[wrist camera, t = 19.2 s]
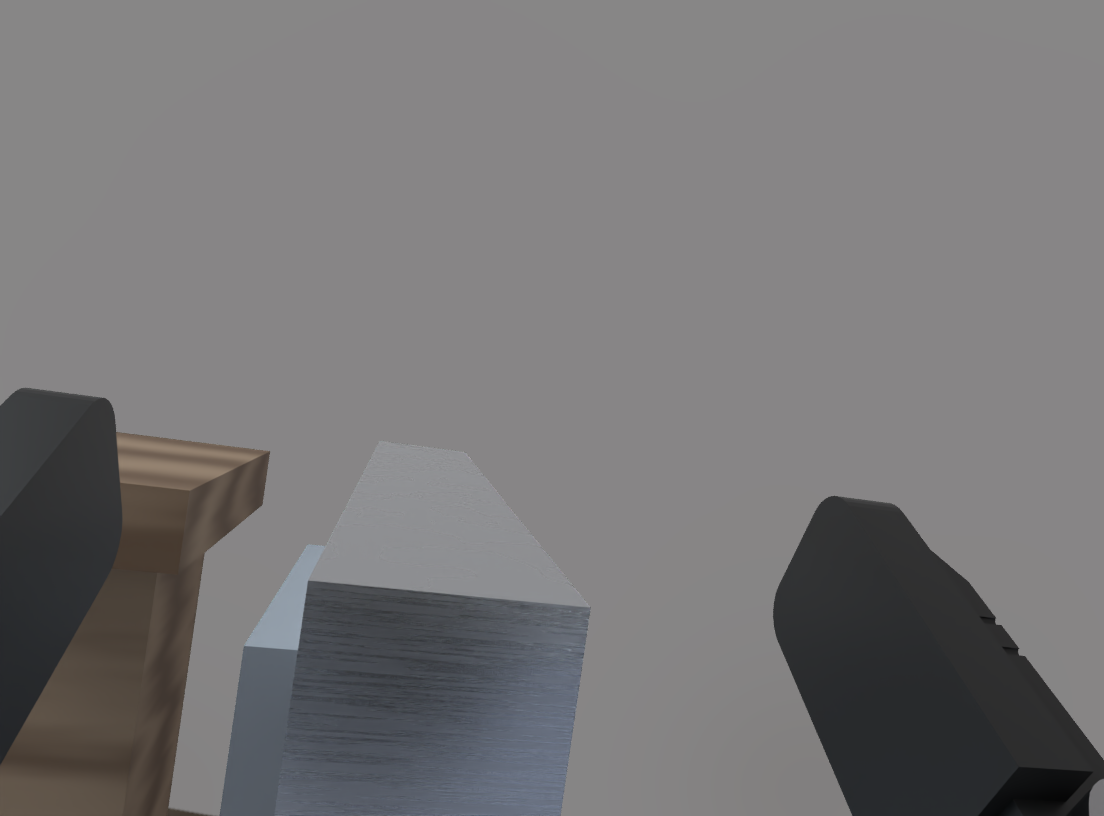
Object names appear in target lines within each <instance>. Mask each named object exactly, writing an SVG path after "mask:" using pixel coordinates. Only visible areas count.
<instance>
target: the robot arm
mask: <svg viewBox="0 0 1104 816" xmlns="http://www.w3.org/2000/svg"><path fill="white" fill-rule="evenodd" d="M122 519H123V518H122V502H121V489H120V476H119V463H118V450H117V437H116V424H115V415H114V411H113V408H112V405H111V403H110V402H109V401H108V400H107V399H105V398H100V397H92V396H84V395H77V394H69V393H61V392H53V391H46V390H39V389H31V388H21V389H19V390H17V391H15V392H14V393H13V394H12V395H11V396H10V397H9V398H8V399H7V400H6V401H5V402H4V403H3V404H2V405H1V406H0V765H1V763H2V761H3V759H4V758H5V756H6V754H7V752H8V751H9V749H10V747H11V745H12V744H13V742H14V740H15V738H16V737H17V735H18V733H19V731H20V730H21V728H22V726H23V724H24V723H25V721H26V719H27V717H28V716H29V714H30V712H31V710H32V709H33V707H34V705H35V703H36V702H37V700H38V698H39V696H40V695H41V693H42V691H43V689H44V688H45V686H46V684H47V682H48V681H49V679H50V677H51V675H52V674H53V672H54V670H55V668H56V667H57V665H58V663H59V661H60V660H61V658H62V656H63V654H64V653H65V651H66V649H67V647H68V646H69V644H70V642H71V640H72V638H73V637H74V635H75V633H76V631H77V630H78V628H79V626H80V624H81V623H82V621H83V619H84V617H85V616H86V614H87V612H88V610H89V609H90V607H91V605H92V603H93V602H94V600H95V598H96V596H97V595H98V593H99V591H100V589H101V588H102V586H103V584H104V582H105V581H106V579H107V577H108V575H109V573H110V571H111V569H112V566H113V564H114V561H115V558H116V555H117V552H118V548H119V544H120V538H121V532H122ZM773 610H774V611H773V619H774V628H775V633H776V637H777V640H778V642H779V644H780V647H781V649H782V652H783V654H784V656H785V659H786V661H787V663H788V666H789V668H790V670H791V673H792V675H793V677H794V680H795V682H796V684H797V687H798V689H799V692H800V694H801V696H802V699H803V701H804V703H805V706H806V708H807V710H808V713H809V715H810V717H811V720H812V722H813V724H814V727H815V729H816V731H817V733H818V736H819V738H820V741H821V743H822V745H823V748H824V750H825V752H826V755H827V757H828V759H829V762H830V764H831V766H832V769H833V771H834V774H835V776H836V778H837V780H838V783H839V785H840V788H841V790H842V792H843V795H844V797H845V799H846V802H847V804H848V806H849V809H850V811H851V813H852V816H1104V760H1103V758H1102V757H1101V756H1100V755H1099V753H1098V752H1097V750H1096V749H1095V748H1094V747H1093V745H1092V744H1091V743H1090V741H1089V740H1088V739H1087V737H1086V736H1085V735H1084V733H1083V732H1082V731H1081V729H1080V728H1079V727H1078V725H1077V724H1076V723H1075V721H1073V719H1072V718H1071V716H1070V715H1069V714H1068V712H1067V711H1066V710H1065V708H1064V707H1063V706H1062V705H1061V703H1060V702H1059V700H1058V699H1057V698H1056V697H1055V695H1054V694H1053V693H1052V691H1051V690H1050V689H1049V687H1048V686H1047V685H1046V683H1045V682H1044V681H1043V679H1042V678H1041V677H1040V675H1039V674H1038V673H1037V671H1036V670H1035V669H1034V668H1033V666H1032V665H1031V664H1030V662H1029V661H1028V660H1027V658H1026V657H1025V656H1019V654H1018V649H1019V648H1018V646H1017V645H1016V644H1015V642H1014V641H1013V640H1012V639H1011V637H1010V636H1009V635H1008V633H1007V632H1006V631H1005V629H1004V628H1003V627H1002V625H996V624H995V618H996V617H995V616H994V615H993V614H992V612H991V611H990V610H989V609H988V607H987V606H986V604H985V603H984V602H983V600H982V599H981V598H980V596H979V595H978V594H977V593H976V591H975V590H974V588H973V587H972V586H971V585H970V583H969V582H968V581H967V580H966V579H964V578H963V577H962V576H961V575H960V574H958V573H957V572H956V571H955V570H954V569H953V568H951V567H950V566H949V565H948V564H947V563H945V562H944V561H943V560H942V559H940V558H939V557H938V556H937V555H936V554H935V553H934V552H932V551H931V550H930V549H929V547H928V546H927V545H926V543H925V542H924V541H923V539H922V538H921V537H920V535H919V534H918V532H917V531H916V530H915V528H914V527H913V526H912V524H911V523H910V522H909V520H908V519H907V517H906V516H905V515H904V513H903V512H902V511H901V510H900V509H899V508H898V507H897V506H895V505H893V504H890V503H883V502H876V501H868V500H861V499H852V498H845V497H838V496H831V497H828V498H826V499H825V500H824V501H823V502H821V504H820V505H819V506H818V508H817V510H816V511H815V513H814V515H813V517H812V519H811V521H810V523H809V526H808V527H807V529H806V531H805V533H804V535H803V538H802V540H801V542H800V544H799V546H798V548H797V550H796V552H795V554H794V556H793V558H792V560H791V562H790V564H789V566H788V568H787V570H786V572H785V575H784V576H783V578H782V580H781V582H780V584H779V587H778V589H777V592H776V596H775V601H774V609H773Z"/></svg>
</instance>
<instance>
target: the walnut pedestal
mask: <svg viewBox="0 0 1104 816" xmlns="http://www.w3.org/2000/svg"><path fill="white" fill-rule="evenodd" d="M116 437H117V450H118V463H119V476H120V489H121V502H122V518H123V519H122V532H121V538H120V544H119V548H118V552H117V555H116V558H115V561H114V564H113V566H112V569H111V571H110V573H109V575H108V577H107V579H106V581H105V582H104V584H103V586H102V588H101V589H100V591H99V593H98V595H97V596H96V598H95V600H94V602H93V603H92V605H91V607H90V609H89V610H88V612H87V614H86V616H85V617H84V619H83V621H82V623H81V624H80V626H79V628H78V630H77V631H76V633H75V635H74V637H73V638H72V640H71V642H70V644H69V646H68V647H67V649H66V651H65V653H64V654H63V656H62V658H61V660H60V661H59V663H58V665H57V667H56V668H55V670H54V672H53V674H52V675H51V677H50V679H49V681H48V682H47V684H46V686H45V688H44V689H43V691H42V693H41V695H40V696H39V698H38V700H37V702H36V703H35V705H34V707H33V709H32V710H31V712H30V714H29V716H28V717H27V719H26V721H25V723H24V724H23V726H22V728H21V730H20V731H19V733H18V735H17V737H16V738H15V740H14V742H13V744H12V745H11V747H10V749H9V751H8V752H7V754H6V756H5V758H4V759H3V761H2V763H1V765H0V816H167V813H168V806H169V798H170V792H171V785H172V777H173V771H174V764H175V757H176V750H177V743H178V736H179V729H180V722H181V714H182V707H183V700H184V694H185V686H186V680H187V673H188V666H189V658H190V651H191V644H192V637H193V630H194V623H195V616H196V609H197V602H198V595H199V588H200V581H201V574H202V567H203V560H204V553H205V552H206V551H207V550H208V549H209V548H211V547H212V546H213V545H214V544H216V543H217V542H218V541H219V540H220V539H221V538H223V537H224V536H225V535H227V533H229V532H230V531H231V530H233V529H234V528H235V527H236V526H237V525H239V524H240V523H241V522H242V521H243V520H245V519H246V518H247V517H248V516H249V515H251V514H252V513H253V512H254V511H255V510H257V509H258V508H259V507H260V506H262V504H263V496H264V489H265V482H266V475H267V469H268V462H269V454H270V451H263V450H255V449H247V448H239V447H231V446H223V445H215V444H207V443H199V442H191V441H182V440H175V439H167V438H159V437H151V436H143V435H135V434H127V433H119V432H116Z"/></svg>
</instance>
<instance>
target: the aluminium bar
mask: <svg viewBox="0 0 1104 816" xmlns="http://www.w3.org/2000/svg"><path fill="white" fill-rule="evenodd" d="M590 609H591V607H590V606H589V605H588V604H587V602H586V601H585V600H584V599H583V597H582V596H581V595H580V594H579V593H578V591H577V590H576V589H575V588H574V586H573V585H572V584H571V583H570V581H569V580H568V579H567V578H566V576H565V575H564V574H563V573H562V572H561V570H560V569H559V568H558V567H557V565H556V564H555V563H554V562H553V560H552V559H551V558H550V557H549V555H548V554H547V553H546V552H545V550H544V549H543V548H542V547H541V546H540V544H539V543H538V542H537V541H536V539H535V538H534V537H533V536H532V535H531V533H530V532H529V531H528V529H527V528H526V527H525V526H524V525H523V523H522V522H521V521H520V519H519V518H518V517H517V516H516V515H515V513H514V512H513V511H512V510H511V508H510V507H509V506H508V505H507V504H506V503H505V501H504V500H503V499H502V497H501V496H500V495H499V494H498V493H497V491H496V490H495V489H494V487H493V486H492V485H491V484H490V482H489V481H488V480H487V479H486V477H485V476H484V475H483V474H482V473H481V471H480V470H479V469H478V468H477V466H476V465H475V464H474V463H473V461H472V460H471V459H470V458H469V456H468V455H467V454H466V453H465V452H461V451H454V450H446V449H438V448H431V447H423V446H415V445H408V444H400V443H392V442H385V441H379V443H378V445H377V447H376V449H375V451H374V453H373V455H372V456H371V459H370V460H369V462H368V464H367V466H366V468H365V470H364V472H363V474H362V476H361V478H360V480H359V482H358V484H357V486H356V488H355V490H354V492H353V493H352V496H351V497H350V499H349V501H348V503H347V505H346V507H345V509H344V511H343V513H342V515H341V517H340V519H339V521H338V523H337V525H336V527H335V529H334V531H333V533H332V534H331V536H330V538H329V540H328V542H327V544H326V546H325V548H324V550H323V552H322V554H321V556H320V558H319V560H318V562H317V564H316V566H315V568H314V570H313V572H312V574H311V575H310V577H309V579H308V584H307V591H306V598H305V605H304V612H303V619H302V626H301V633H300V640H299V646H298V653H297V660H296V667H295V674H294V681H293V688H292V695H291V702H290V709H289V716H288V723H287V730H286V737H285V744H284V751H283V758H282V765H281V772H280V779H279V786H278V793H277V800H276V807H275V814H274V816H560V815H561V808H562V802H563V795H564V787H565V781H566V774H567V767H568V760H569V754H570V747H571V739H572V733H573V726H574V719H575V712H576V705H577V698H578V692H579V685H580V677H581V671H582V664H583V657H584V650H585V643H586V637H587V630H588V622H589V616H590Z"/></svg>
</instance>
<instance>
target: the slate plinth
mask: <svg viewBox="0 0 1104 816" xmlns="http://www.w3.org/2000/svg"><path fill="white" fill-rule="evenodd" d="M324 548H325V546H318V545H307V547H306V548H305V550H304V551H303V553H302V555H301V556H300V558H299V559H298V561H297V563H296V564H295V566H294V567H293V569H292V570H291V572H290V574H289V575H288V577H287V579H286V580H285V582H284V583H283V585H282V586H281V588H280V590H279V591H278V593H277V594H276V596H275V597H274V599H273V601H272V602H271V604H270V605H269V607H268V609H267V610H266V612H265V614H264V615H263V617H262V618H261V620H260V621H259V623H258V624H257V626H256V628H255V629H254V631H253V632H252V634H251V636H250V637H249V639H248V640H247V642H246V643H245V645H244V649H243V657H242V664H241V670H240V677H239V684H238V691H237V698H236V705H235V713H234V720H233V726H232V733H231V740H230V747H229V754H228V761H227V769H226V775H225V783H224V790H223V796H222V803H221V811H220V816H274V814H275V807H276V800H277V793H278V786H279V779H280V772H281V765H282V758H283V751H284V744H285V737H286V730H287V723H288V716H289V709H290V702H291V695H292V688H293V681H294V674H295V667H296V660H297V653H298V646H299V640H300V633H301V626H302V619H303V612H304V605H305V598H306V591H307V584H308V579H309V577H310V575H311V574H312V572H313V570H314V568H315V566H316V564H317V562H318V560H319V558H320V556H321V554H322V552H323V550H324Z"/></svg>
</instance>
